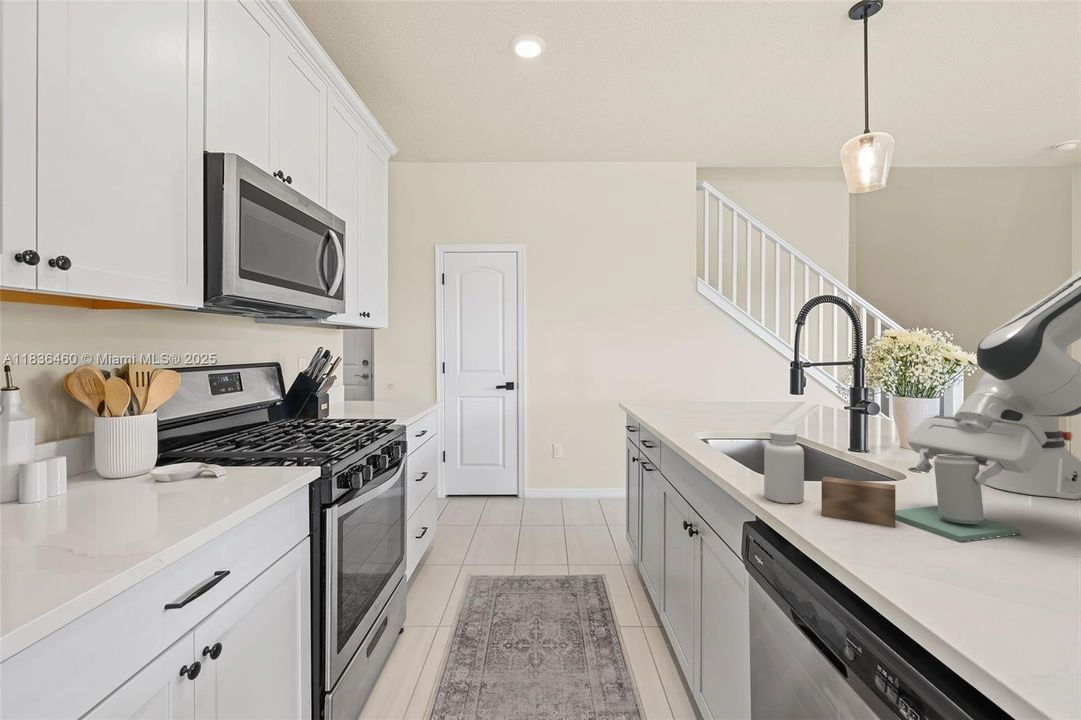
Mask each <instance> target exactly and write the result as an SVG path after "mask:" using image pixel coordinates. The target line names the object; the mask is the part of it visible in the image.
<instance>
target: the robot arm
mask: <svg viewBox="0 0 1081 720" xmlns="http://www.w3.org/2000/svg"><path fill="white" fill-rule="evenodd" d="M1080 339H1081V269H1079V270H1078V271H1077V272H1075V273H1074V274H1073V275H1072V276H1071V277H1068V279H1067V280H1065V281H1064V282H1063V283H1061V284H1060V285H1059V286H1058V287H1056V288H1055V289H1054V290H1053V291H1051V292H1049V294H1047V295H1046V296H1044V297H1043V298H1041V299H1039V300H1038V301H1036V302H1034V303H1033V304H1031V305H1029V306H1028V307H1026V308H1025V309H1023V310H1022V311H1020V312H1019V313H1017V314H1016V315H1015V316H1013V317H1012V318H1010V319H1009V320H1007V321H1006V322H1004V323H1003V324H1001V325H1000V326H998V327H997V328H994V329H993V330H992V331H990V332H989V333H987V335H986V336H985V337H984V338H983V339H982V340H981V341H980V342H979V344H978V346H977V348H976V349H977V350H976V361H977V362H976V364H977V366H978V367H979V368H980V369H981V370H983V372H985V373H984V374H983V375H982V377H981V378H980V379H979V381H978V382H977V384H976V386H975V389H974V391H973V392H972V393H971V394H969V395H968V396H967V397H966V399H964V401H963V403H962V404H961V406H960V407H959V409H958V410H957V411H956V412H955V414H954V415H953V416H946V415H939V414H938V415H937V414H936V415H935V416H931V417H926V418H925V419H924V420H923V421H922V422H920V423H919V424H918V426H916V427H915V428H914V430H912V432H911V433H910V434H909V435H908V437H907V443H908V445H909V446H910V448H911V449H912V450H913V451H914V452H915V453H916V454H919V461H918V462H917V464H916V468H917V469H918V470H919V471H921V472H925V473H929V472H930V471H931V470H932V468H933V467H934V466H933V465H932V464H931V463H930V460H933V459H934V457H937V456H936V455H937V454H959V455H971V456H975V460H976V461H977V462H978V463H979V466H983V467H982V468H981V469H979V471H976V472H975V473H974V475H973V476H972V479H973V480H974V481H975V482H976V483H977V484H981V486H983V485H984V484H985V485H987V486H989V487H991V488H995V489H998V490H999V489H1000V490H1003V491H1008V492H1011V493H1016V494H1017V493H1019V494H1025V495H1032V496H1041V497H1054V498H1061V499H1067V500H1068V499H1069V500H1080V499H1081V460H1080V459H1078V458H1077V457H1076V456H1075V455H1074V454H1072V453H1071V452H1070V451H1069V450H1068V449H1067V448H1066V447H1065V446H1066V442H1065V441H1069V442H1070V441H1072V439H1073V437H1074V435H1073V433H1072V432H1070V431H1062V430H1061V431H1060V418H1061V417H1062V418H1063V417H1064V418H1066V417H1072V416H1073V417H1074V416H1079V415H1081V363H1080V362H1079V361H1078V360H1076V359H1074V358H1073V357H1072V356H1071V355H1069V354H1068V346H1070V345H1072V344H1074V343H1075V342H1077V341H1079V340H1080Z"/></svg>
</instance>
